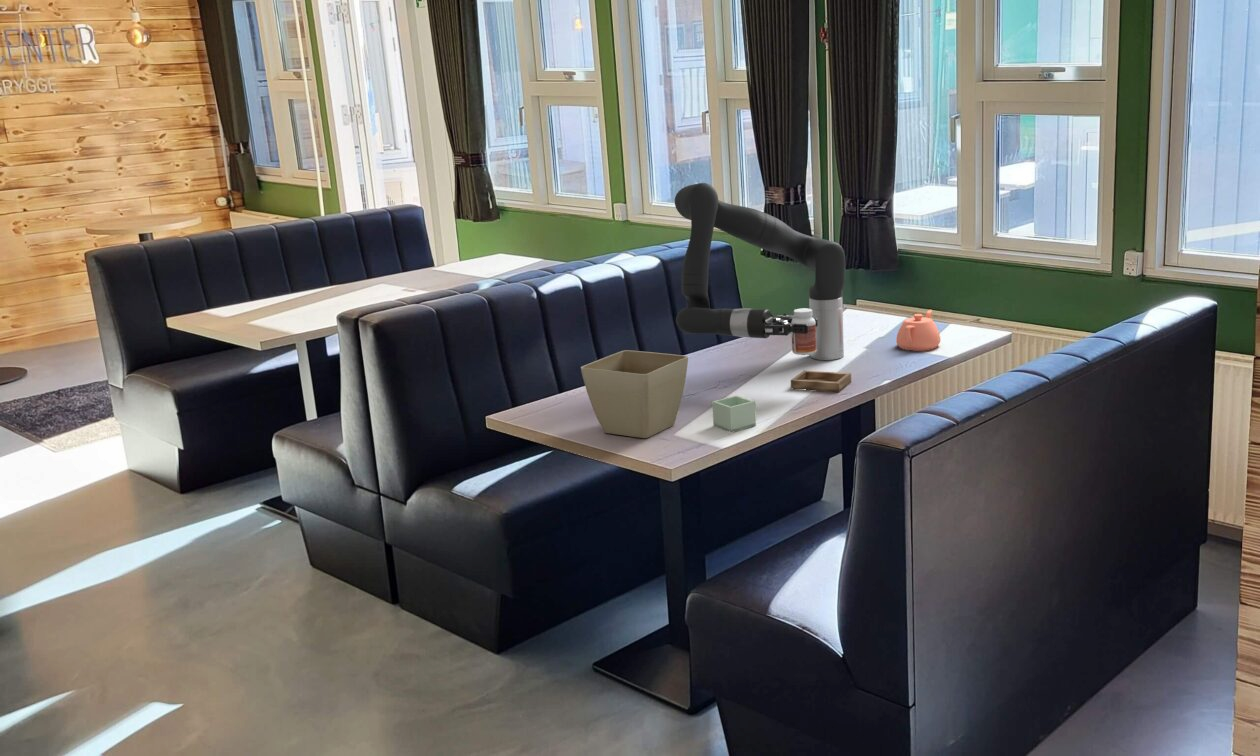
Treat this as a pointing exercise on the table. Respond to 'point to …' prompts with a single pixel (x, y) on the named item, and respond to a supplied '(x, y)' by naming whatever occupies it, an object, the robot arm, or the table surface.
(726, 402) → the pale green bin
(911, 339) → the teapot
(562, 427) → the table surface
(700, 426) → the table surface
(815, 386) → the tray
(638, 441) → the table surface
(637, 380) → the flower pot
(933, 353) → the table surface
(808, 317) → the pill bottle
